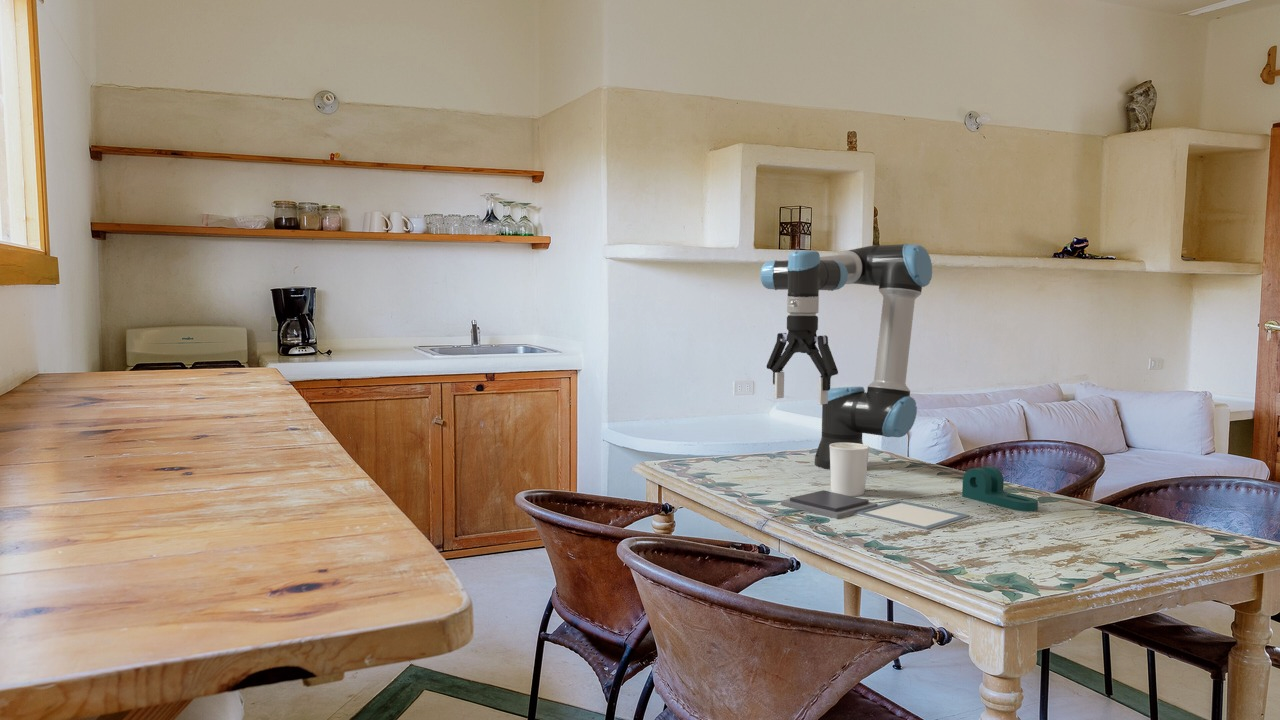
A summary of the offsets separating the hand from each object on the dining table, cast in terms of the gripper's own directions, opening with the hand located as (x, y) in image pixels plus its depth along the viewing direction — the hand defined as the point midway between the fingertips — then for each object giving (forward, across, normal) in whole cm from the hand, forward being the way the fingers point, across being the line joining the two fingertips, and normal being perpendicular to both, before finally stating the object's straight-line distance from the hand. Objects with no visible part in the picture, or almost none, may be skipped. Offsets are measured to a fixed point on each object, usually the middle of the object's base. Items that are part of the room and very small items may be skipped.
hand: (800, 401), depth 218 cm
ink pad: (+24, +12, -3) cm, 26 cm away
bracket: (+24, +35, +35) cm, 55 cm away
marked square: (+24, +28, +5) cm, 37 cm away
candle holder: (+24, +5, +13) cm, 28 cm away
